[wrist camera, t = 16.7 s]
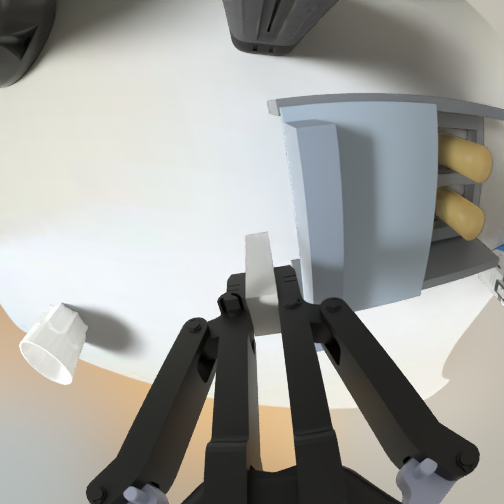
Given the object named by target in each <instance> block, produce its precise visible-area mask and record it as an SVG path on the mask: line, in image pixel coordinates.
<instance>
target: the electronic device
mask: <svg viewBox="0 0 504 504" xmlns="http://www.w3.org/2000/svg"><path fill="white" fill-rule="evenodd" d="M222 1H223V4H224V8H225V12H226V17H227V21H228V25H229V30H230V34H231V39H232V42H233V44H234V46H235V47H236V48H237V49H238V50H240V51H243V52H247V53H257V54H268V55H285V54H287V53H289V52H290V51H291V50H292V49H293V48H294V47H295V46H296V45H297V43H298V42H299V41H300V40H301V39H302V38H303V37H304V36H305V34H306V33H307V32H308V31H309V30H310V29H311V28H312V27H313V26H314V25H315V24H316V23H317V22H318V21H319V19H320V18H321V17H322V16H323V15H324V14H325V13H326V12H327V11H328V10H329V9H330V8H331V7H332V6H333V5H334V4H335V3H336V2H337V1H338V0H222Z"/></svg>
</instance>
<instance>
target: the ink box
mask: <svg viewBox="0 0 504 504" xmlns="http://www.w3.org/2000/svg"><path fill="white" fill-rule="evenodd" d="M492 252H493V253H494V254H496V255H497V256H498V257H499V258H500V260H499V263H498V266H497V267H495V268H492V269H489V270H486V271H483V272H480V273H479V278H480V279H481V280H482V281H483V282H484V283H485V285H486V286H487V287H488V288H489V289H490V290H491V291H492V293H493V294H494V295H495V296H496V297H497V299H498V300H499V301H500V302H501V304H502V305H503V306H504V245H502V246H501V247H499V248H497V249H495V250H493V251H492Z"/></svg>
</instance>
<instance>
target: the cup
mask: <svg viewBox="0 0 504 504" xmlns="http://www.w3.org/2000/svg"><path fill="white" fill-rule="evenodd" d="M87 329H88V326H87V325H86V324H85V323H84V322H83V321H82V319H81V318H80V317H79V314H78V312H75V311H73V310H71V309H69V308H67V307H66V306H65V305H64V304H63V303H61V304H60V305H58V306H53V305H50V306H49V307H48V309H47V310H46V311H45V312H44V313H43V315H42V316H41V317H40V318H39V320H38V321H37V322H36V324H35V325H34V326H33V327H32V328H31V330H30V331H29V332H28V334H27V335H26V336H25V337H24V339H23V340H22V341H21V343H20V351H21V353H22V355H23V356H24V358H25V359H26V360H27V362H28V363H29V364H30V365H31V366H32V367H33V368H34V369H35V370H37V371H38V372H39V373H40V374H42V375H43V376H45V377H47V378H48V379H50V380H52V381H54V382H57V383H60V384H70V383H71V382H72V379H73V376H74V373H75V369H76V366H77V362H78V358H79V355H80V353H81V350H82V347H83V345H84V342H85V340H86V334H85V333H86V331H87Z"/></svg>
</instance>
